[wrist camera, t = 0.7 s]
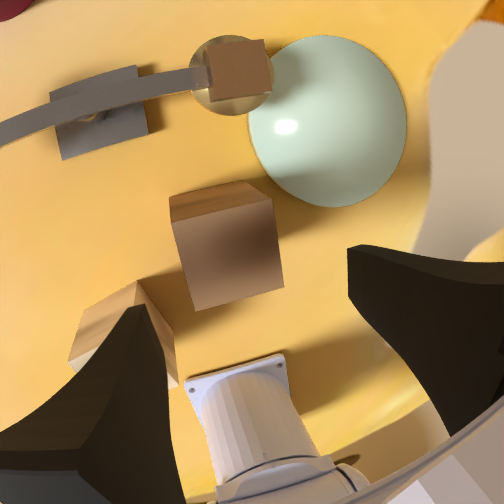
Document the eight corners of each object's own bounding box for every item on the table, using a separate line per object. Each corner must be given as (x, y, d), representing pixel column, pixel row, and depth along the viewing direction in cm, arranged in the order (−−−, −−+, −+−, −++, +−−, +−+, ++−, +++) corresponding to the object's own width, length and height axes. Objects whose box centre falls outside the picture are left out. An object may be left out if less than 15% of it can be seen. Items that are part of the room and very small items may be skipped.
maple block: (172, 329, 21) (179, 385, 16) (122, 355, 21) (117, 412, 16) (137, 279, 19) (131, 329, 14) (84, 309, 19) (67, 362, 14)
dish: (401, 189, 22) (410, 192, 21) (262, 220, 20) (267, 224, 19) (386, 42, 17) (394, 40, 17) (232, 42, 16) (236, 38, 15)
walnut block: (254, 247, 21) (284, 287, 16) (186, 265, 20) (195, 311, 15) (242, 179, 19) (272, 199, 14) (168, 197, 18) (171, 223, 13)
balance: (258, 112, 17) (303, 105, 12) (-15, 192, 14) (-73, 220, 9) (247, 49, 16) (287, 14, 10) (-28, 132, 13) (-89, 140, 7)
